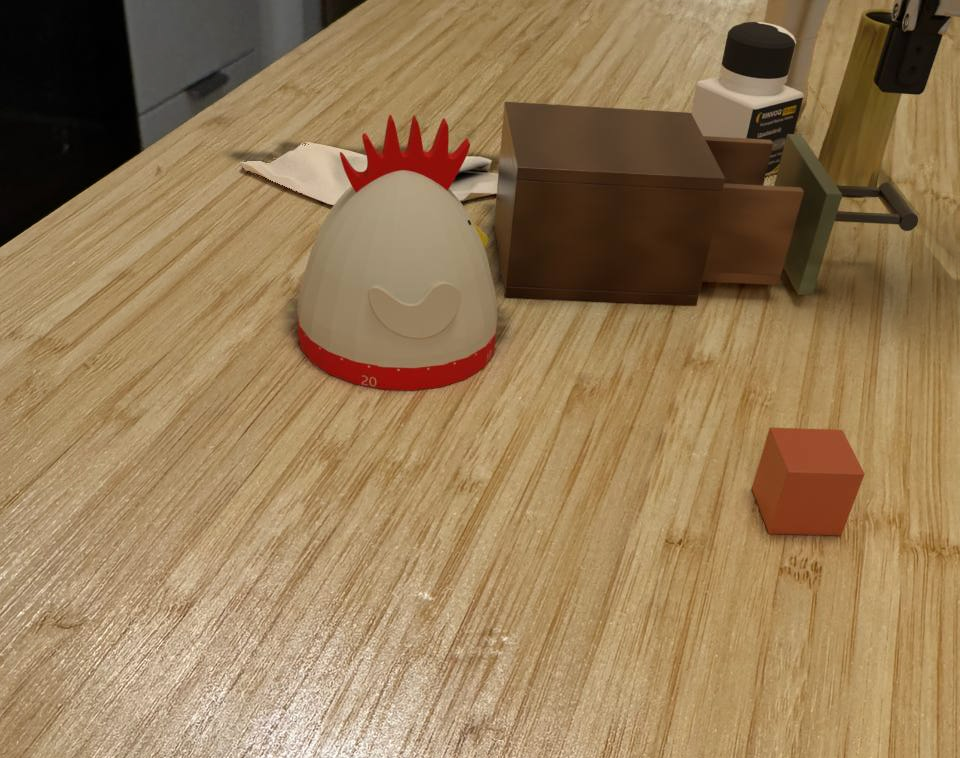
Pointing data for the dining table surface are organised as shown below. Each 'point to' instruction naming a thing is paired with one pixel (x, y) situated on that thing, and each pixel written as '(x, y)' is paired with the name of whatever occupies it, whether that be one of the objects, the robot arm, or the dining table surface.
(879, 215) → the drawer
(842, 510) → the block
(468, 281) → the kitchen timer
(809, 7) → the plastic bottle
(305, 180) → the cloth
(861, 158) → the vase
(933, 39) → the robot arm
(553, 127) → the cabinet
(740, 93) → the medicine bottle
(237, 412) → the dining table surface
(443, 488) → the dining table surface
